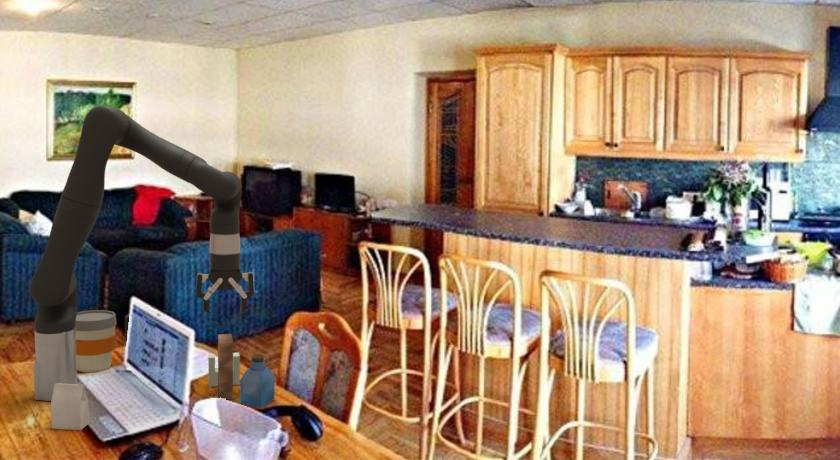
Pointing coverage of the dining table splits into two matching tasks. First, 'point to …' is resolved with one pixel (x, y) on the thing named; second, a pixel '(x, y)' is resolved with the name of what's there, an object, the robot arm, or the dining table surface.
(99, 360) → the reusable coffee cup
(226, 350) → the walnut plate
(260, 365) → the perfume bottle
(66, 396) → the grey box
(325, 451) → the dining table surface
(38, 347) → the robot arm
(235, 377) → the slotted stand
